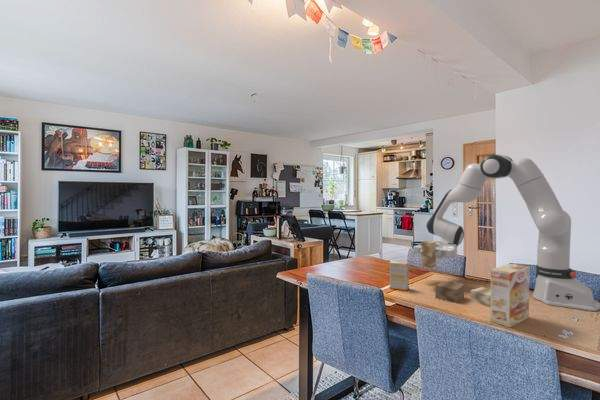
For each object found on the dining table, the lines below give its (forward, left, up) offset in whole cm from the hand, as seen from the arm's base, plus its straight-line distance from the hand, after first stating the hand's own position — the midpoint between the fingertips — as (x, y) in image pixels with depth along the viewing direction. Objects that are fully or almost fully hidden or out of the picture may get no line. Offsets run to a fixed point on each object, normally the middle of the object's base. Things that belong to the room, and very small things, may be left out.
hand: (427, 253), depth 158 cm
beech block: (-26, +2, -17) cm, 31 cm away
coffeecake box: (-38, +16, -17) cm, 45 cm away
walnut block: (-13, +7, -17) cm, 23 cm away
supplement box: (+10, +9, -17) cm, 22 cm away
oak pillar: (0, -1, -7) cm, 7 cm away
